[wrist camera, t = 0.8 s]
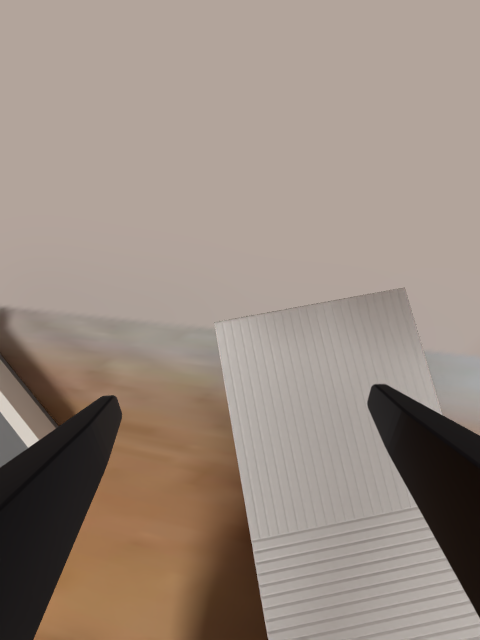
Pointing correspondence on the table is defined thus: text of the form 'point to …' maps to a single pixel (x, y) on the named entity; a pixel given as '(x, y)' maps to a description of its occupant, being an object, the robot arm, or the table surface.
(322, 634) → the ridged white long block
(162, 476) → the table surface
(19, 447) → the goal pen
